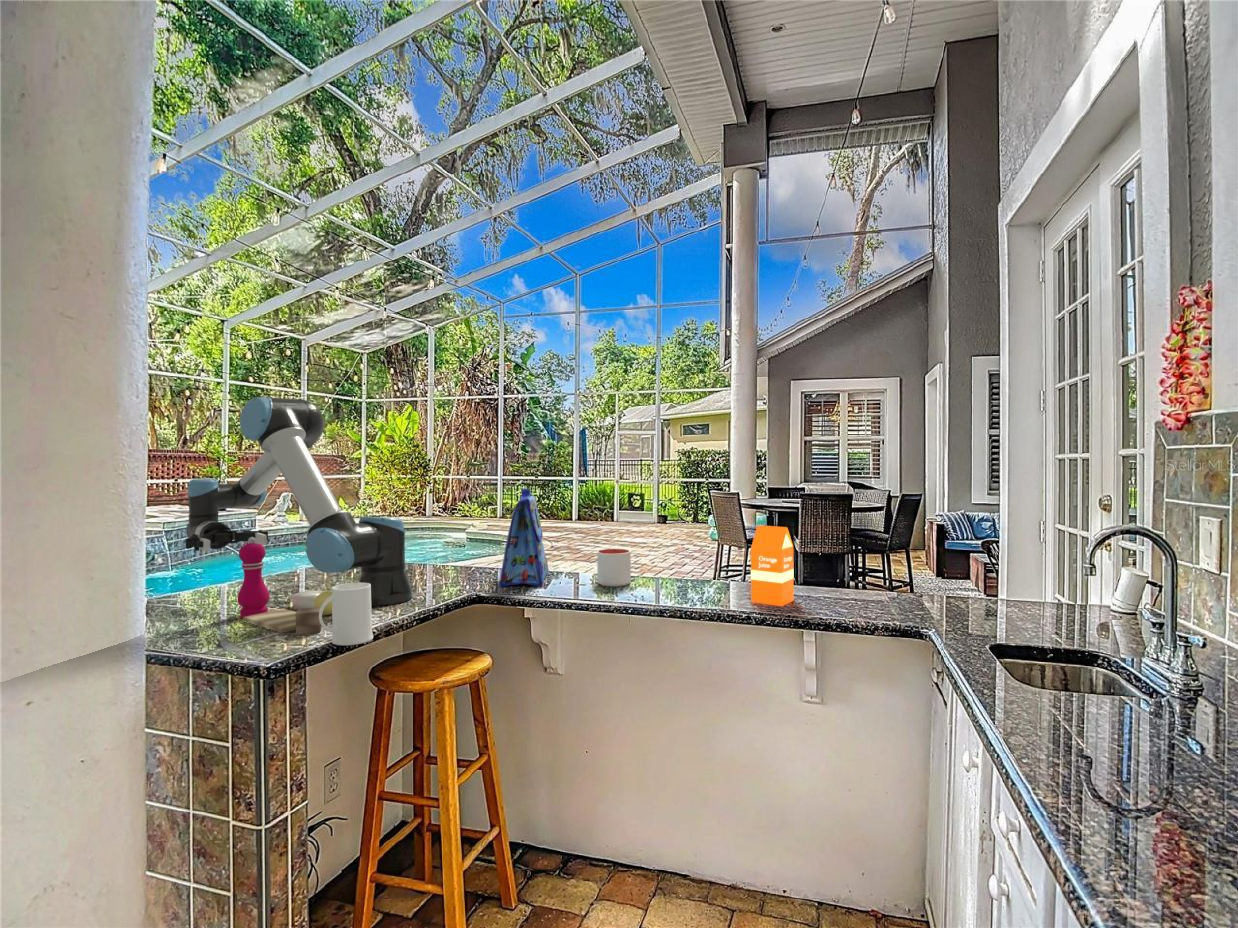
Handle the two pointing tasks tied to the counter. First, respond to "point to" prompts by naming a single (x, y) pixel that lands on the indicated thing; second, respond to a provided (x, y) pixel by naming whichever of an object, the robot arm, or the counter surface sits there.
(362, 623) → the mug
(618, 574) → the cup
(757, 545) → the orange juice
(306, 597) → the white rounded piece
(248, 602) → the pepper mill
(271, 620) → the serving board
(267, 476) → the robot arm
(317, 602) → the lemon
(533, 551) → the lunch bag
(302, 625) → the walnut block
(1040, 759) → the counter surface
